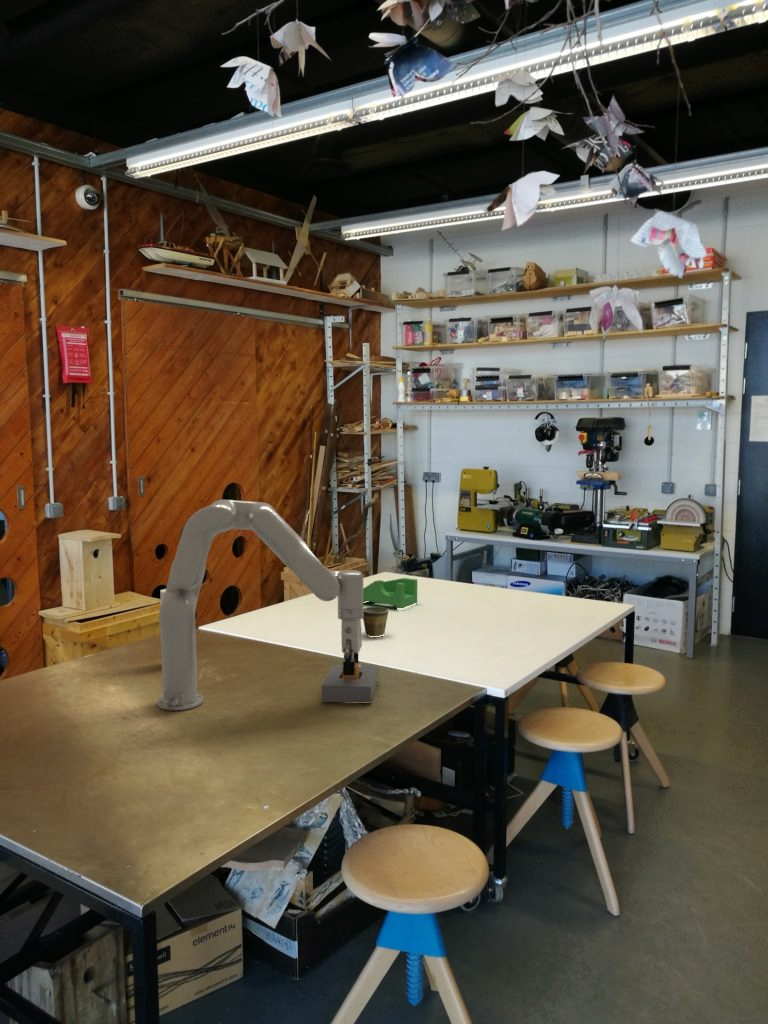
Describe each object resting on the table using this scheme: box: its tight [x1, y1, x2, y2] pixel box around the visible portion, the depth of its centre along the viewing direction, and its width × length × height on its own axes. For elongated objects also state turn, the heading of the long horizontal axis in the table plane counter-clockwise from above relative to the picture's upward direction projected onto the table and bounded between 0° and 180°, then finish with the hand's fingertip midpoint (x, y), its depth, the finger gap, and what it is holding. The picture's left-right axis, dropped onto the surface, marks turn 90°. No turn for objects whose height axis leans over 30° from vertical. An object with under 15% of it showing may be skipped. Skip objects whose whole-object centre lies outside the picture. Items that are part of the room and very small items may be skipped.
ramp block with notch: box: [363, 577, 418, 609], centre depth 340 cm, size 24×13×12 cm, turn 57°
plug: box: [342, 658, 360, 679], centre depth 226 cm, size 4×4×9 cm
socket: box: [321, 663, 379, 703], centre depth 227 cm, size 20×14×6 cm
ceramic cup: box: [362, 606, 389, 636], centre depth 290 cm, size 13×10×10 cm
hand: (351, 669), depth 226 cm, fingers open, 8 cm apart
